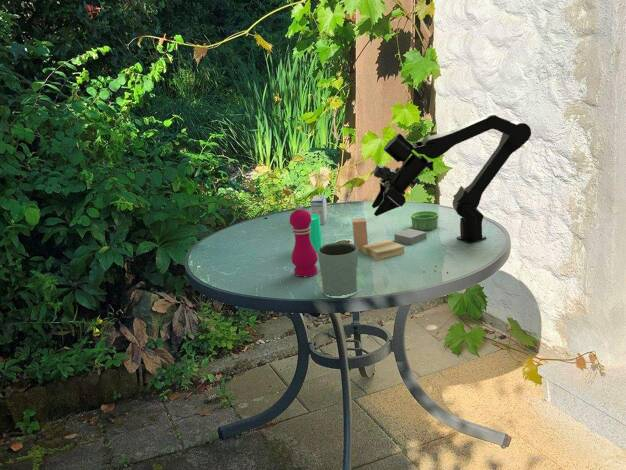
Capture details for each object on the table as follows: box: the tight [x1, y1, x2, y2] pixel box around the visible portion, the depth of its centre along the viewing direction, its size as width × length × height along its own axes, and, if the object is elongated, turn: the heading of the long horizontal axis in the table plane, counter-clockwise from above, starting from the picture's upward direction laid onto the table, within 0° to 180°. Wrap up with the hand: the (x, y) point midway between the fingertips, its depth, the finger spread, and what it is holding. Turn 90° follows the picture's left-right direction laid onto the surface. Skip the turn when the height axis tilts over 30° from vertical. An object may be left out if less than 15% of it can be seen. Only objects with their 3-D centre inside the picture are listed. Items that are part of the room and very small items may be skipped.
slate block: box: [393, 228, 428, 245], centre depth 210 cm, size 7×7×2 cm
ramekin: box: [410, 210, 439, 231], centre depth 221 cm, size 9×9×4 cm
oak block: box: [361, 239, 406, 261], centre depth 200 cm, size 9×9×2 cm
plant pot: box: [317, 242, 359, 296], centre depth 172 cm, size 10×10×12 cm
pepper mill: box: [289, 203, 319, 277], centre depth 187 cm, size 7×7×20 cm
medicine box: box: [310, 194, 328, 225], centre depth 238 cm, size 8×4×9 cm, turn 172°
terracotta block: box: [351, 217, 369, 252], centre depth 205 cm, size 4×4×9 cm
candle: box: [308, 211, 323, 253], centre depth 208 cm, size 6×6×12 cm
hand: (373, 211), depth 203 cm, fingers open, 9 cm apart
